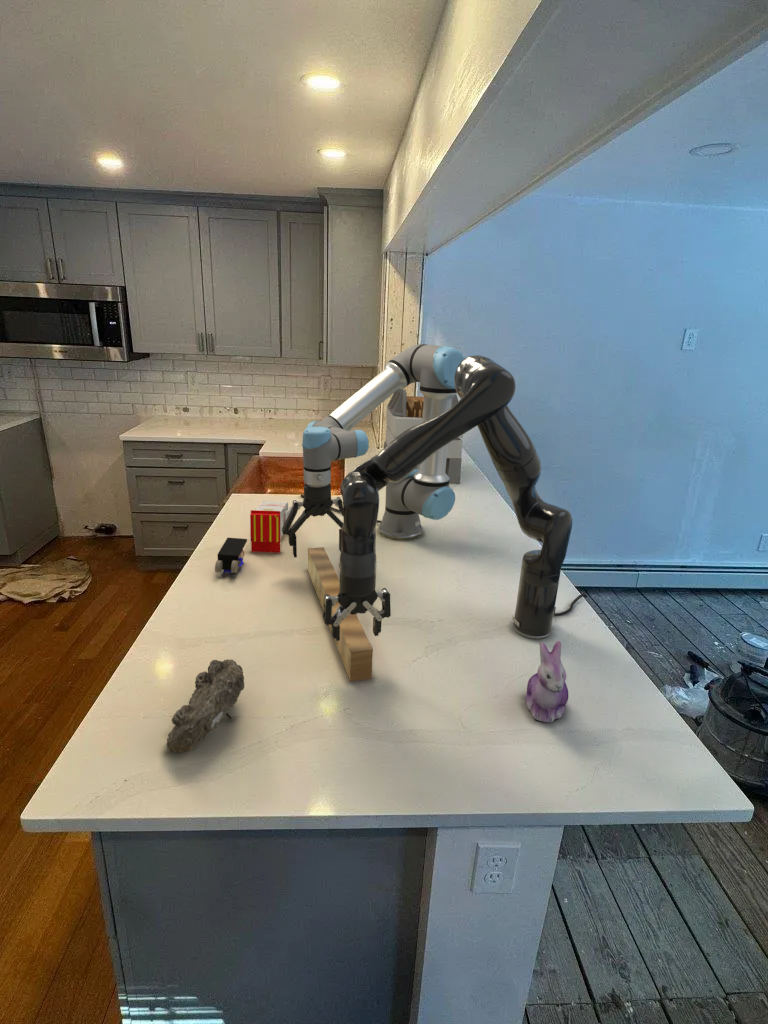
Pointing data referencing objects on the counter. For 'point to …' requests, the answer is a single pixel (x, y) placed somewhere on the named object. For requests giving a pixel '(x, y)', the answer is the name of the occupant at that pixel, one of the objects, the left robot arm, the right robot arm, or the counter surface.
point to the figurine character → (230, 556)
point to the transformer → (410, 413)
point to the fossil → (206, 705)
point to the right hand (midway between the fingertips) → (356, 636)
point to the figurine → (548, 686)
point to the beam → (352, 635)
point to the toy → (268, 525)
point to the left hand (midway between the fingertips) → (318, 553)
